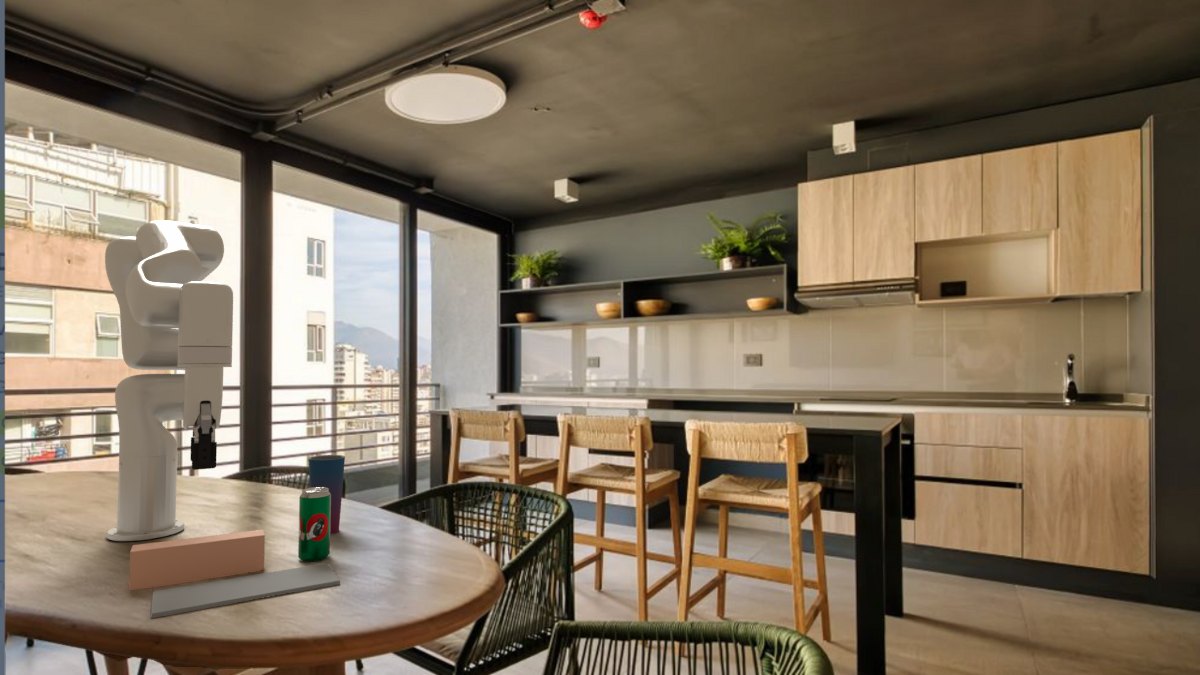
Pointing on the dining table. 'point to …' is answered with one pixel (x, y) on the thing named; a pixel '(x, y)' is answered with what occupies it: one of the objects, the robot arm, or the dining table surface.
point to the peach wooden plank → (195, 559)
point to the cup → (329, 482)
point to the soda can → (314, 524)
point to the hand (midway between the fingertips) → (202, 464)
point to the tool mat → (241, 589)
